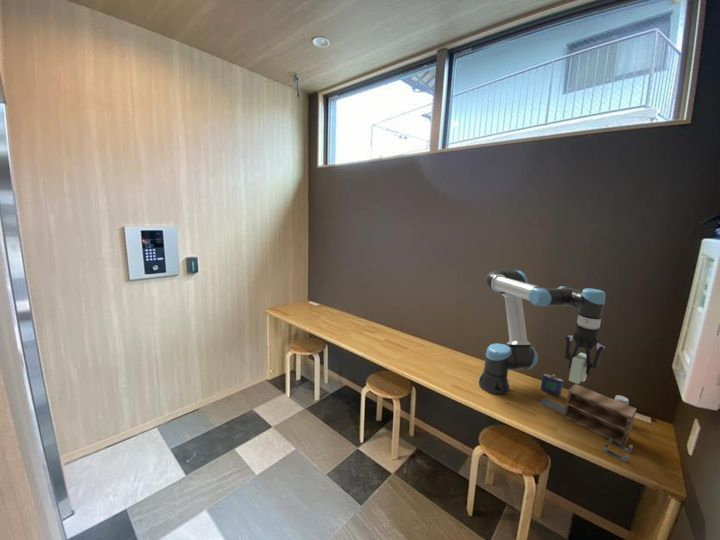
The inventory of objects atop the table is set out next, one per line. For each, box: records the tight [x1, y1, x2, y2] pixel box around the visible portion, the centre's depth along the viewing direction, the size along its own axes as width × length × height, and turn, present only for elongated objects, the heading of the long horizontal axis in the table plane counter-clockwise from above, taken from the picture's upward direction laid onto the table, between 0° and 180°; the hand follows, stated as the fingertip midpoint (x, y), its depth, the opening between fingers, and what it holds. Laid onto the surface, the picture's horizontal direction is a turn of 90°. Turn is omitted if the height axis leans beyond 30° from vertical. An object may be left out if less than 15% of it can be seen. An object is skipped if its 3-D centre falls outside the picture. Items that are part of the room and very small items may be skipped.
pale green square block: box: [568, 352, 588, 385], centre depth 125 cm, size 4×10×10 cm, turn 127°
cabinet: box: [563, 383, 637, 447], centre depth 132 cm, size 22×9×14 cm, turn 38°
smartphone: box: [539, 397, 566, 416], centre depth 145 cm, size 8×1×15 cm
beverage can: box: [613, 394, 630, 405], centre depth 136 cm, size 5×5×12 cm
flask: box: [540, 373, 564, 397], centre depth 157 cm, size 9×3×11 cm, turn 51°
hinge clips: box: [603, 436, 634, 464], centre depth 119 cm, size 7×10×2 cm
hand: (577, 378), depth 126 cm, fingers closed on pale green square block, 3 cm apart
